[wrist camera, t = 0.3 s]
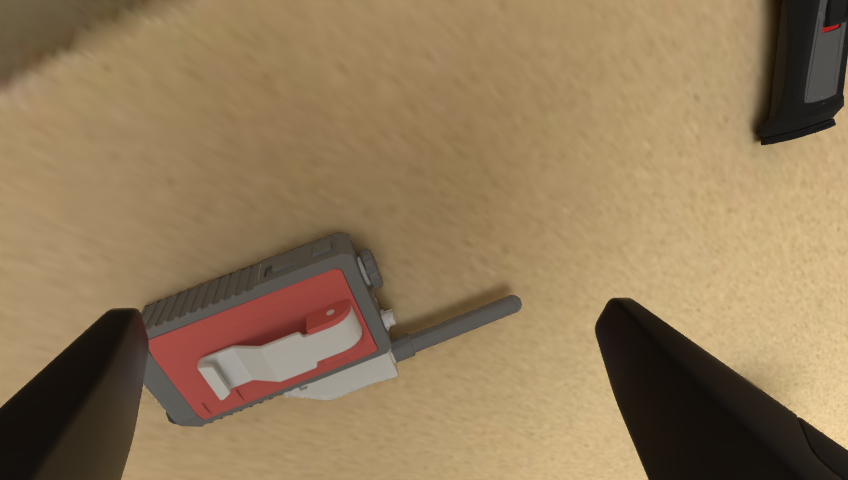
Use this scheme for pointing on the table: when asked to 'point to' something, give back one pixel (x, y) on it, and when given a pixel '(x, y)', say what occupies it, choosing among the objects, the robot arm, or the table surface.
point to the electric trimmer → (807, 69)
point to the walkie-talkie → (284, 334)
